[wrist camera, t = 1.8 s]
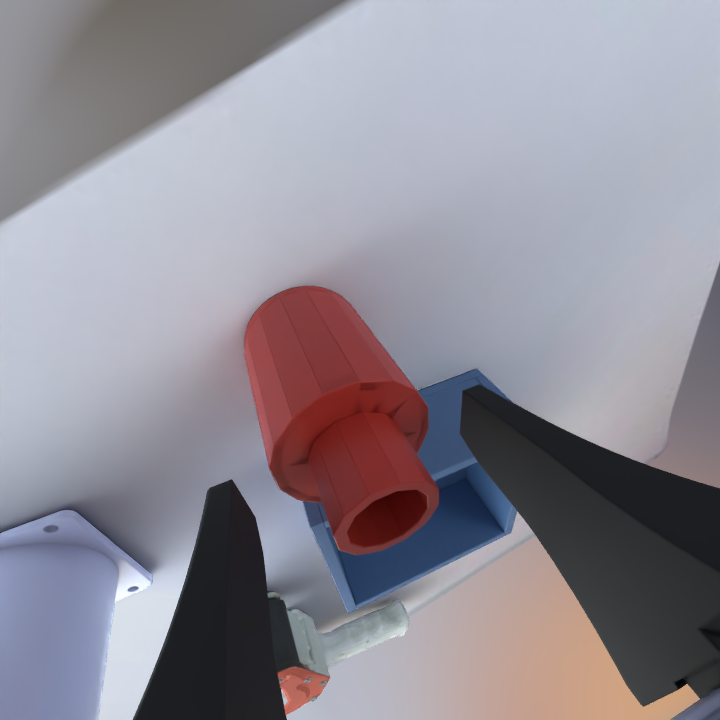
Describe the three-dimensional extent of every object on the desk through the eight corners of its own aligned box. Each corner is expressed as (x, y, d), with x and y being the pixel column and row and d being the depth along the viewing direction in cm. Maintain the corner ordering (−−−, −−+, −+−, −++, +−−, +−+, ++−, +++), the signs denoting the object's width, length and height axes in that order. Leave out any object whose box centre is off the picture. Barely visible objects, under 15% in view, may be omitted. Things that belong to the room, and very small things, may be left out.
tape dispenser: (400, 585, 40) (320, 535, 26) (426, 638, 36) (350, 614, 22) (264, 682, 39) (104, 685, 25) (277, 747, 35) (98, 795, 21)
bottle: (264, 400, 17) (314, 601, 10) (225, 306, 14) (261, 508, 7) (364, 365, 18) (470, 527, 11) (349, 270, 15) (483, 417, 8)
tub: (324, 536, 26) (348, 613, 22) (285, 440, 19) (310, 527, 15) (467, 473, 28) (511, 532, 24) (477, 368, 22) (540, 427, 18)
